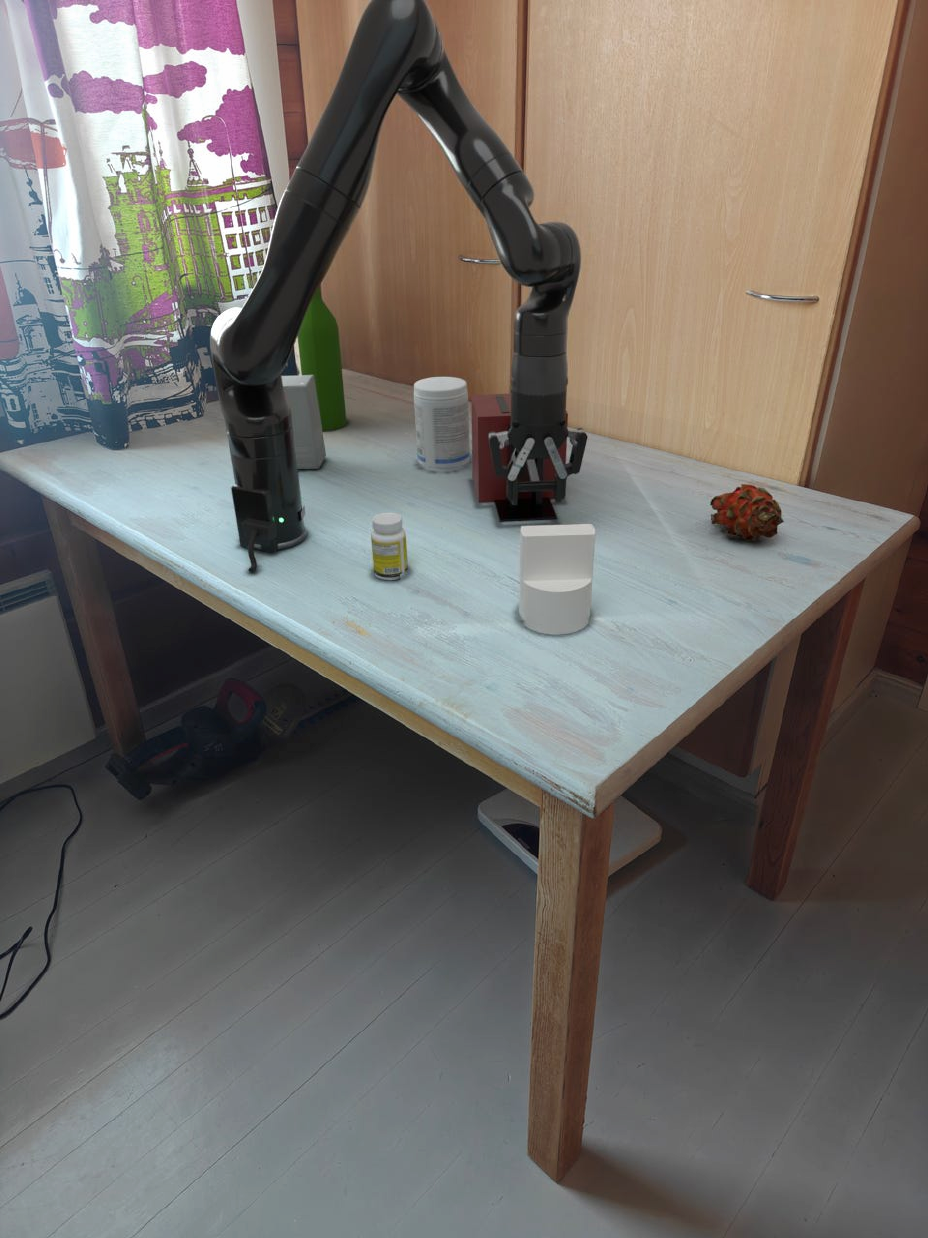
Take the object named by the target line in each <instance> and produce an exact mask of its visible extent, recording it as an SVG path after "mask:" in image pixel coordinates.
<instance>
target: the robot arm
mask: <svg viewBox="0 0 928 1238" xmlns="http://www.w3.org/2000/svg"><path fill="white" fill-rule="evenodd" d="M352 37H353V38H352V40H351V43H350V47H349V48H348V52H347V55H346V57H345V60H344V63H343V66H342V69H341V71H340V74H339V75H338V79H337V81H336V85H334V89H333V90H332V93H331V96H330V98H329V100H328V102H327V104H326V106H325V108H324V110H323V111H322V114H321V116H320V118H319V120H318V122H317V124H316V127H315V129H314V131H313V133H312V135H311V137H310V140H309V141H308V144H307V146H306V148H305V150H304V152H303V154H302V156H301V158H300V159H299V160H298V161H299V162H298V163H297V165H296V168H295V169H294V171H293V173H292V175H291V177H290V180H289V181H288V184H287V186H286V188H285V189H284V192H283V194H282V197H281V199H280V201H279V204H278V207H277V209H276V213H275V217H274V221H273V224H272V228H271V232H270V238H269V243H268V248H267V252H266V256H265V260H264V264H263V267H262V270H261V273H260V274H259V277H258V279H257V281H256V283H255V285H254V287H253V289H252V290H251V292H250V294H249V296H248V297H247V299H246V301H245V302H244V304H243V306H234V307H231V308H228V309H226V310H225V311H223V312H222V313H221V314H220V315H218V317H216V319H215V320H214V322H213V324H212V327H211V329H210V335H209V347H210V355H211V361H212V367H213V373H214V378H215V385H216V389H217V395H218V396H217V397H218V402H219V405H220V409H221V412H222V415H223V419H224V424H225V430H226V434H227V443H228V446H229V447H228V448H229V454H230V461H231V468H232V472H233V480H234V484H233V485H232V486H231V487H230V491H231V497H232V503H233V509H234V516H235V521H236V528H237V535H238V542H239V546H240V547H244V548H247V555H248V558H249V562H250V567H248V572H249V573H250V574H253V573H254V572H255V571H257V567H258V562H257V559H256V555H255V550H258V551H262V552H267V553H272V554H273V553H276V552H277V551H279V550H283V549H284V550H285V549H288V548H292V547H294V546H296V545H298V544H300V543H302V542H303V541H304V540H305V539H306V536H307V530H306V526H305V516H306V507H305V505H303V503H302V494H301V487H300V478H299V477H300V476H299V469H298V468H297V459H296V451H295V442H294V433H293V425H292V416H291V410H290V406H289V404H288V401H287V398H286V395H285V391H284V388H283V383H282V376H283V375H282V373H283V371H284V370H285V368H286V367H287V365H288V362H289V360H290V357H291V354H292V352H293V350H294V344H295V341H296V338H297V336H298V333H299V330H300V328H301V325H302V323H303V320H304V317H305V315H306V312H307V310H308V308H309V305H310V303H311V301H312V299H313V297H314V295H315V293H316V291H317V289H318V288H319V289H320V287H321V285H322V282H323V281H324V279H325V277H326V276H327V273H328V271H329V270H330V268H331V265H332V264H333V262H334V260H335V258H336V256H337V255H338V252H339V250H340V248H341V247H342V244H343V243H344V241H345V240H346V238H347V237H348V235H349V232H350V231H351V228H352V226H353V225H354V222H355V220H356V218H357V216H358V214H359V213H360V209H362V206H363V205H364V202H365V199H366V197H367V194H368V191H369V187H370V184H371V179H372V174H373V169H374V165H375V160H376V154H377V149H378V143H379V138H380V134H381V130H382V128H383V124H384V121H385V118H386V115H387V113H388V111H389V109H390V107H391V105H392V103H393V101H394V99H395V97H396V95H397V96H398V97H399V98H400V99H401V100H402V101H403V102H404V103H405V104H406V105H407V106H408V107H409V108H410V109H411V110H412V111H413V112H414V113H415V115H416V116H417V117H418V118H419V119H420V120H421V122H422V123H423V124H424V125H425V127H426V128H427V129H428V131H429V132H430V133H431V135H432V136H433V138H434V139H435V141H436V142H437V145H439V148H440V149H441V151H442V152H443V155H444V156H445V158H446V159H447V161H448V163H449V165H450V167H451V169H452V170H453V172H454V174H455V176H456V177H457V179H458V180H459V182H460V184H461V185H462V187H463V188H464V190H465V192H466V193H467V195H468V196H469V198H470V199H471V201H472V203H474V205H475V206H476V208H477V209H478V211H479V212H480V214H481V215H482V217H483V218H484V219H485V222H486V225H487V228H488V232H489V235H490V238H491V240H492V243H493V245H494V248H495V251H496V254H497V256H498V259H499V261H500V264H501V265H502V268H504V270H505V271H506V273H507V274H508V276H509V277H511V279H513V281H514V282H516V283H518V284H519V285H520V286H524V287H527V288H530V289H529V293H528V297H527V299H526V300H525V301H524V302H523V303H521V305H520V306H519V307H518V308H517V309H516V311H515V314H514V317H513V318H514V319H513V320H514V321H513V353H512V354H513V356H512V362H511V370H510V371H511V373H510V394H511V422H510V426H509V427H508V429H507V431H504V432H499V433H495V432H494V431H491V432H489V434H488V439H489V445H490V450H491V456H492V462H493V467H494V471H495V475H496V476H497V477H504V478H506V479H507V491H506V494H507V498H508V500H509V501H511V502H512V505H517V500H518V480H517V475H518V473H519V471H520V469H521V468H522V467H523V465H524V463H525V461H526V459H527V460H532V459H536V458H541V459H549V457H551V460H552V462H553V464H554V466H555V469H556V471H557V472H556V474H555V479H554V480H556V490H554V499H553V500H554V502H555V504H559V503H560V504H561V503H562V500H564V499H565V498H566V495H567V494H566V493H567V479H568V477H569V476H571V475H578V474H579V473H580V471H581V469H582V464H583V459H584V454H585V451H586V445H587V442H588V434H587V433H586V430H585V429H584V428H583V427H578V428H576V429H572V428H568V426H567V427H566V423H565V418H566V411H567V396H568V395H567V394H568V393H567V392H568V384H569V376H568V372H569V371H568V370H569V369H568V368H569V367H568V356H567V353H568V352H567V349H568V328H569V327H568V325H569V323H568V321H569V315H570V311H571V308H572V305H573V302H574V299H575V293H576V290H577V286H578V281H579V277H580V272H581V267H582V266H581V265H582V249H581V243H580V240H579V238H578V237H579V236H578V235H577V233H576V231H575V230H574V228H573V227H572V226H570V225H569V224H567V223H565V222H563V221H558V220H557V221H547V222H543V223H538V222H537V221H536V220H535V218H534V216H533V214H532V211H531V209H530V208H531V207H532V205H533V203H534V200H535V190H534V187H533V185H532V183H531V181H530V179H529V178H528V176H527V174H525V172H524V170H523V169H522V167H521V165H520V164H519V163H518V161H517V159H516V158H515V157H514V155H513V154H512V152H511V151H510V149H509V147H508V146H507V145H506V144H505V142H504V141H503V139H502V138H501V137H500V136H499V134H498V133H497V132H496V130H495V129H494V128H493V127H492V126H491V125H490V124H489V123H488V121H487V120H486V119H485V118H484V116H483V115H482V114H481V113H480V112H479V111H478V110H477V108H476V107H475V105H474V104H473V103H472V101H471V100H470V98H469V97H468V95H467V93H466V92H465V90H464V88H463V87H462V84H461V83H460V82H459V79H458V77H457V74H456V73H455V70H454V68H453V65H452V64H451V60H450V59H449V56H448V54H447V52H446V49H445V47H444V44H443V43H444V42H443V38H442V34H441V32H440V28H439V27H438V25H437V23H436V21H435V18H434V16H433V13H432V11H431V9H430V7H429V5H428V3H427V2H426V0H370V1H369V3H368V4H367V6H366V7H365V8H364V11H363V13H362V14H361V17H360V19H359V22H358V24H357V27H356V29H355V32H354V35H353V36H352ZM566 438H567V439H568V438H569V443H570V445H571V452H570V455H569V460H568V462H566V464H564V465H563V463H562V460H561V458H560V455H559V453H558V451H557V450H558V449H559V447H560V446H561V445H562V444H563V442H564V441H565V440H566ZM507 439H509V440H510V442H511V443H512V444H513V446H514V447H515V450H514V452H513V454H512V457H511V460H510V463H509V465H508V467H506V466H503V465H502V459H501V453H500V449H502V448H503V447H504V445H505V441H506V440H507Z"/></svg>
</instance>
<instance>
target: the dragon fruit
mask: <svg viewBox="0 0 928 1238" xmlns="http://www.w3.org/2000/svg"><path fill="white" fill-rule="evenodd" d="M708 504H710V505H709V506H711V509H712V510H714V511H717V512H715V513H711V514H710V521H711V524H712V525H718V526H725V527H727V531H726V534H727V537H728V538H730V539H737V538H739V537H740V536H742V538H743V540H745V541H749V542H758V540H759V539H760V538H761V537H764V538H768V539H771V538H773V537H775V536H777V535H778V527H779V525H781V524H782V523H785V521H784V519H783V517H782V508H781V506H780V504H779V503H778V501H777V500H776V499H774V498H773V495H772V494H771V493H770V492H769V491H768V490H767V489H766V488H765V487H761V486H760V487H757V486H755V485H753V484H748V483H747V484H746V483H742V484H740V486H736V488H735V489H734V491H732V492H725V493H722V494H719V495H715V496H714V497H713V498H712V499H711V500H710V501H709V503H707V505H708Z"/></svg>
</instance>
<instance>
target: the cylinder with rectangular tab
mask: <svg viewBox="0 0 928 1238" xmlns="http://www.w3.org/2000/svg"><path fill="white" fill-rule="evenodd" d="M519 533H520V535H519V536H520V537H519V539H520V540H519V541H520V542H519V588H518V589H519V590H518V591H519V593H518V613H519V615H520V617H521V618H522V619H520V620H519V621H520V623H521V624H522V626H524V627H526V628H527V629H529V630H531V631H533V632H536V633H538V634H545V635H550V636H551V635H552V636H553V635H554V636H560V635H570V634H573V633H576V632H579V631H581V630H583V629H584V628H585V627H586V626H587V625H588V624H589V622H590V620H591V616H590V615H591V608H592V591H593V575H594V561H595V559H594V558H595V548H596V547H595V546H596V545H595V543H596V528H595V527H594V525H593V524H592V523H580V524H575V523H574V524H546V525H543V524H542V525H520V531H519Z"/></svg>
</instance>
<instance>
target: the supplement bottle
mask: <svg viewBox="0 0 928 1238" xmlns="http://www.w3.org/2000/svg"><path fill="white" fill-rule="evenodd" d="M370 539H371V553H372V561H373V562H372V564H373V573H374V576H375V577H376V578H377V579H379V580H383V581H398V580H400V579H401V575H402V574H404V573H405V572H407V570H408V569H409V566H408V565H409V564H408V549H407V533H406V530H405V529H404V528H403V517H402V516H401V514H399V513H396V512H381V513H378V514H375V515H374V516H373V517H372V531H371V534H370Z"/></svg>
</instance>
